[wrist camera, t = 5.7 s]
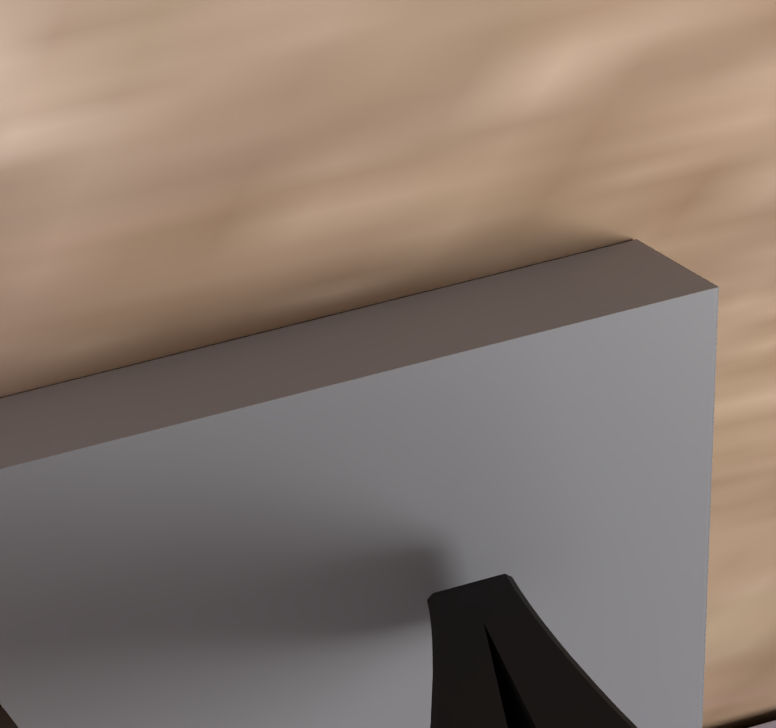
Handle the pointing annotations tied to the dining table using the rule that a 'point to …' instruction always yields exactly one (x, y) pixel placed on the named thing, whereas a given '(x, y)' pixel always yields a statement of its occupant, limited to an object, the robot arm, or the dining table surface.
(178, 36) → the dining table surface
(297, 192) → the dining table surface
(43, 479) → the board
